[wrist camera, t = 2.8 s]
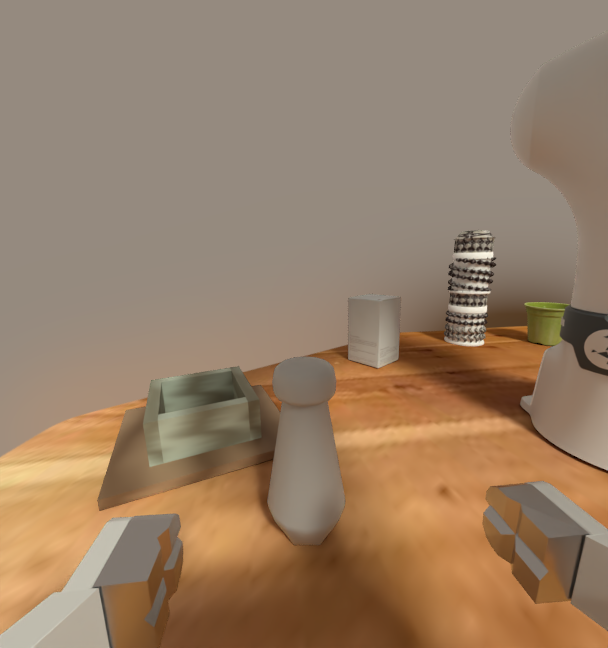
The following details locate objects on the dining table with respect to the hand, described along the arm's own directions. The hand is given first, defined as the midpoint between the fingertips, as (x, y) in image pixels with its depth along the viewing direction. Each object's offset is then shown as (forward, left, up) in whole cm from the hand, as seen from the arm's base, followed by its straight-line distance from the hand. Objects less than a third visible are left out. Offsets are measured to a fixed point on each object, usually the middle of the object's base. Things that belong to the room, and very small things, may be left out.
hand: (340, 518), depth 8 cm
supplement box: (-31, -40, -13) cm, 52 cm away
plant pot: (-73, -32, -13) cm, 81 cm away
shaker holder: (+2, -28, -13) cm, 31 cm away
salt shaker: (-4, -12, -13) cm, 18 cm away
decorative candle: (-58, -41, -13) cm, 72 cm away
